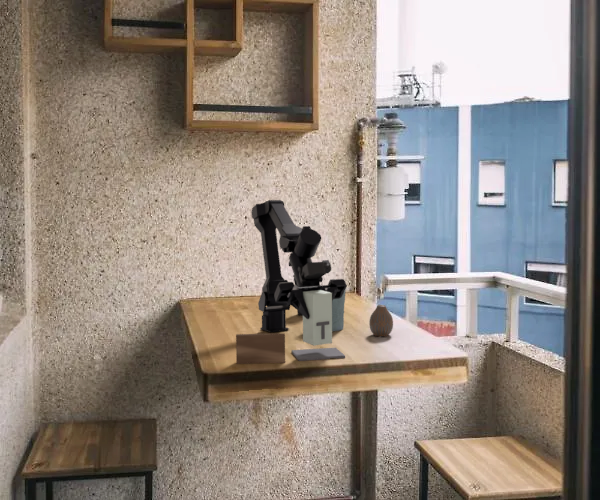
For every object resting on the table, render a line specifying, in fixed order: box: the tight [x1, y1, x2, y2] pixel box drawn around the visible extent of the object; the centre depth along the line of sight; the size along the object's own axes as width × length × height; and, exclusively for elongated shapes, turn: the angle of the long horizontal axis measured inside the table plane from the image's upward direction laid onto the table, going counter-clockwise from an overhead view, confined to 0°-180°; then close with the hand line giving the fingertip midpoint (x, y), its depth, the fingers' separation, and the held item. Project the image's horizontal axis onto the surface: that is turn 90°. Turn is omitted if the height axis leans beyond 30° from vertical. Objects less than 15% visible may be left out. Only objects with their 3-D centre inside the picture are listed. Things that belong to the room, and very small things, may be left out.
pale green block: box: [302, 290, 333, 347], centre depth 173 cm, size 6×6×13 cm
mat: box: [291, 347, 346, 362], centre depth 174 cm, size 12×9×1 cm
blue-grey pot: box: [332, 289, 346, 332], centre depth 206 cm, size 10×10×12 cm
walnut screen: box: [235, 332, 286, 365], centre depth 167 cm, size 2×12×7 cm, turn 93°
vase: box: [368, 304, 394, 337], centre depth 196 cm, size 7×7×9 cm
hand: (319, 317), depth 172 cm, fingers closed on pale green block, 6 cm apart
